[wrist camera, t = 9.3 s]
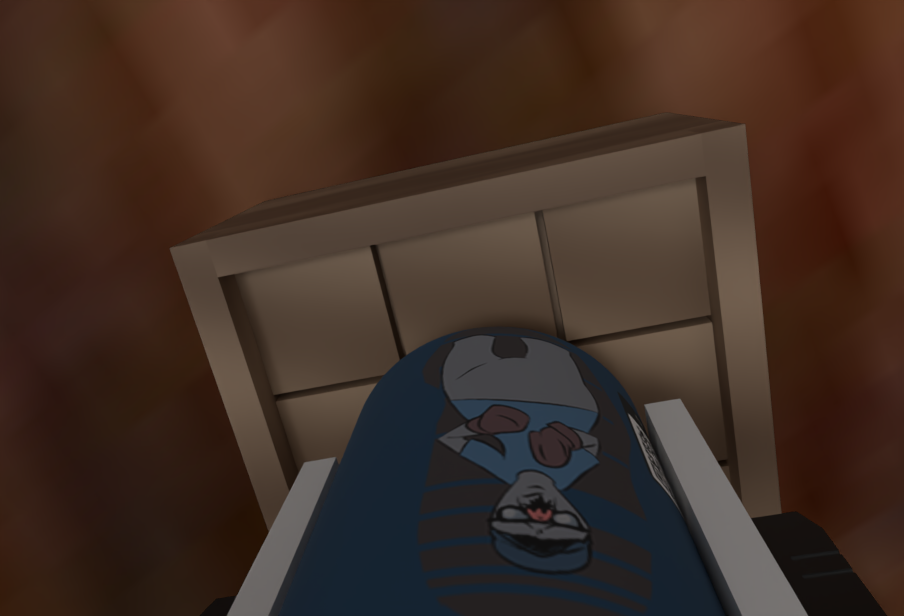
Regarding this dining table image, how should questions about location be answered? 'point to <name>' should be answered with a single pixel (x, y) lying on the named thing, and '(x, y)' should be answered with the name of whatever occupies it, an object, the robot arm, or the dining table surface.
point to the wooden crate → (497, 288)
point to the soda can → (500, 494)
